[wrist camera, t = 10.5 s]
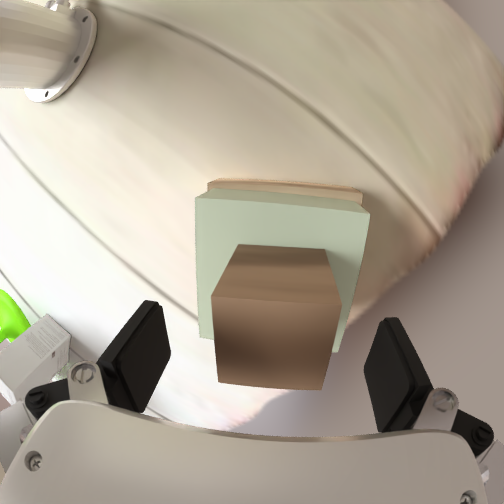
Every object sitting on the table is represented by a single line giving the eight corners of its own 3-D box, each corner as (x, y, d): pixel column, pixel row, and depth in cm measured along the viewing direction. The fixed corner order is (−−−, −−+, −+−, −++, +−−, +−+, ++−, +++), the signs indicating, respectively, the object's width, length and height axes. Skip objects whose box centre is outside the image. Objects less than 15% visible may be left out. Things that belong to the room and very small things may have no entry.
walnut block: (238, 244, 16) (210, 295, 10) (324, 249, 15) (342, 304, 10) (238, 315, 18) (218, 382, 12) (314, 320, 17) (321, 390, 11)
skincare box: (69, 360, 35) (23, 417, 21) (45, 339, 35) (-4, 390, 21) (71, 333, 32) (13, 396, 18) (45, 309, 32) (-16, 364, 18)
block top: (213, 188, 19) (195, 197, 15) (354, 201, 18) (370, 214, 14) (213, 308, 22) (199, 337, 19) (331, 320, 21) (337, 352, 18)
